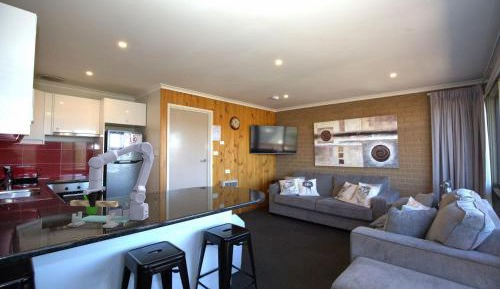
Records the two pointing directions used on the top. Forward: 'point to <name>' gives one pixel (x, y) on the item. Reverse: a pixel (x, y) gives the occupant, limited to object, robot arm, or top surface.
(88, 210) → the cup
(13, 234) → the top surface
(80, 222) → the hook stand
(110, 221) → the hook stand
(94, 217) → the mat
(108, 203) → the rail
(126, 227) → the top surface
